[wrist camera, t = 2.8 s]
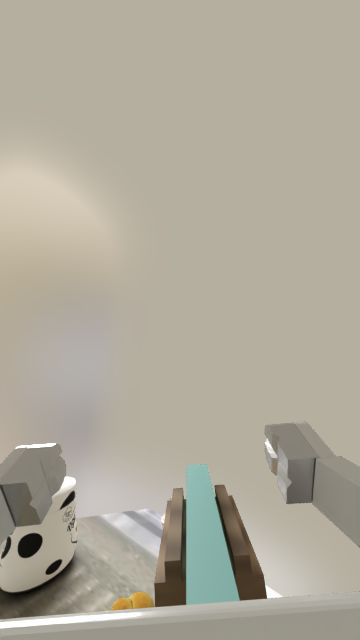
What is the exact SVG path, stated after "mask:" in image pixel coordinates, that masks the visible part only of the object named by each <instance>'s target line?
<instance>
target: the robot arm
mask: <svg viewBox="0 0 360 640" xmlns="http://www.w3.org/2000/svg"><path fill="white" fill-rule="evenodd" d="M265 435H266V437H267V439H268V440H267V441H266V442H265V454H266V459H267V462H268V465H269V467H270V469H271V472H273V473H274V474H275V475H277V485H278V487H279V489H280V491H281V493H282V495H283V497H284V500H285V501H286V504H293V503H312V504H313V505H314V506H315V507H316V508H317V509H318V510H319V511H320V512H321V513H323V514H324V515H325V516H326V517H327V518H328V519H329V520H330V521H331V522H332V523H334V524H335V525H336V526H337V527H338V528H339V529H340V530H341V531H342V532H343V533H344V534H345V535H346V536H348V537H349V538H350V539H351V540H352V541H353V542H354V543H355V544H356V545H357V546H358V547H359V548H360V467H359V466H357V465H355V464H354V463H352V462H350V461H348V460H346V459H345V458H343V457H341V456H339V457H336V456H335V455H334V453H333V452H332V451H331V450H330V448H329V447H328V446H327V445H326V444H325V443H324V441H323V440H322V439H321V438H320V437H319V436H318V434H317V433H316V432H315V431H314V430H313V429H312V427H311V426H310V425H309V424H308V423H307V422H305V421H301V422H292V423H282V424H272V425H266V426H265ZM61 453H62V450H61V447H60V445H59V444H43V445H31V446H19V447H17V448H15V449H14V450H13V451H12V452H11V453H10V455H9V456H8V457H7V458H6V459H5V460H4V461H3V462H2V463H1V464H0V545H1V544H2V542H3V541H4V540H5V539H6V538H7V537H8V536H9V535H10V534H11V533H12V532H13V531H14V530H15V529H16V527H22V526H30V525H39V524H42V522H43V520H44V518H45V516H46V514H47V512H48V511H49V509H50V507H51V505H52V503H53V501H52V496H53V495H54V494H55V493H57V492H58V491H59V490H60V488H61V486H62V484H63V482H64V479H65V475H66V464H65V461H64V460H63V459H62V458H61V457H60V454H61ZM0 640H360V591H359V592H348V593H347V592H346V593H334V594H322V595H321V594H320V595H307V596H296V597H295V596H294V597H282V598H269V599H256V600H243V601H230V602H217V603H204V604H191V605H178V606H165V607H152V608H139V609H126V610H113V611H101V612H88V613H75V614H63V615H50V616H37V617H25V618H12V619H0Z"/></svg>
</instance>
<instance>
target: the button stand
mask: <svg viewBox="0 0 360 640" xmlns="http://www.w3.org/2000/svg"><path fill="white" fill-rule="evenodd" d="M215 493H216V497H215V500H216V505H217V509H218V513H219V517H220V521H221V525H222V529H223V533H224V537H225V542H226V546H227V550H228V554H229V558H230V562H231V566H232V570H233V575H234V579H235V583H236V587H237V591H238V595H239V599H240V601H243V600H256V599H267V595H266V588H265V582H264V575H263V573H262V570H261V567H260V565H259V563H258V560H257V557H256V555H255V552H254V550H253V547H252V545H251V542H250V540H249V537H248V535H247V532H246V530H245V527H244V525H243V522H242V520H241V517H240V515H239V512H238V509H237V507H236V505H235V502H234V499H233V497H232V496H228V494H227V491H226V488H225V486H224V485H215ZM154 585H155V607H165V606H178V605H186V499H184V496H183V488H176V489H173V496H172V500H169V501H168V502H167V508H166V514H165V521H164V527H163V533H162V539H161V545H160V552H159V558H158V564H157V570H156V577H155V583H154Z"/></svg>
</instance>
